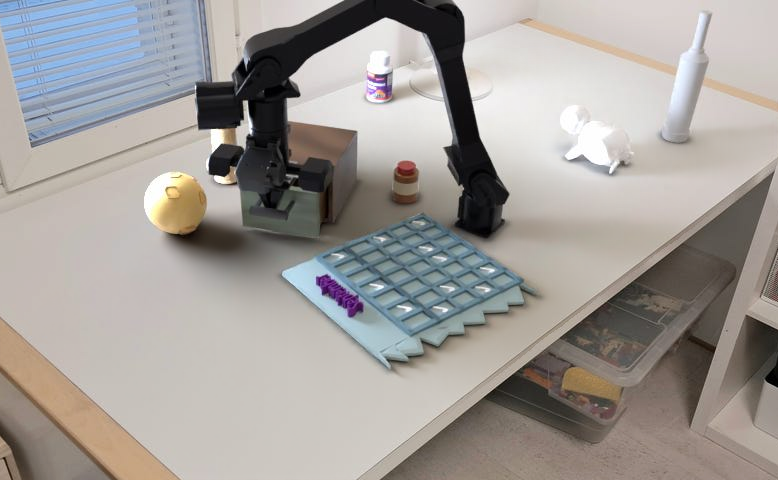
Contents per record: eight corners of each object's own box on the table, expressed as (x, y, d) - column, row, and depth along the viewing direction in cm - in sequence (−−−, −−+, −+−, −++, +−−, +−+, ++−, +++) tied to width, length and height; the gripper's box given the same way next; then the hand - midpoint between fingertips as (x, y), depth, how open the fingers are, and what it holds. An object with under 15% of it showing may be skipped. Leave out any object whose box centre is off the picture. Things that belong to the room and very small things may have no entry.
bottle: (691, 143, 172) (725, 17, 157) (664, 142, 172) (696, 16, 157) (683, 131, 176) (716, 7, 161) (658, 131, 176) (688, 7, 161)
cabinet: (333, 223, 146) (332, 170, 140) (253, 210, 149) (250, 157, 143) (356, 181, 157) (357, 130, 151) (282, 170, 160) (280, 119, 154)
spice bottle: (422, 196, 154) (424, 163, 150) (408, 206, 151) (410, 173, 147) (401, 188, 156) (402, 156, 152) (387, 198, 153) (388, 166, 149)
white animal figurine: (622, 172, 168) (567, 122, 173) (645, 141, 162) (587, 89, 166) (597, 188, 163) (541, 135, 168) (620, 156, 157) (561, 102, 161)
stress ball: (155, 250, 139) (146, 195, 133) (143, 219, 146) (135, 166, 140) (216, 238, 142) (211, 184, 136) (202, 208, 149) (196, 156, 143)
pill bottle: (362, 100, 185) (363, 56, 179) (372, 90, 189) (373, 47, 183) (386, 105, 183) (387, 60, 177) (395, 95, 187) (397, 51, 181)
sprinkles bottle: (217, 186, 155) (210, 116, 147) (212, 174, 158) (206, 105, 150) (242, 183, 156) (237, 113, 148) (237, 171, 160) (232, 102, 151)
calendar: (538, 298, 131) (541, 285, 130) (391, 371, 117) (392, 358, 116) (422, 219, 148) (423, 207, 146) (282, 275, 134) (281, 263, 133)
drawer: (307, 255, 137) (306, 210, 132) (231, 242, 140) (227, 197, 134) (341, 197, 151) (341, 154, 146) (271, 186, 154) (269, 143, 149)
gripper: (185, 139, 124) (196, 232, 133) (311, 158, 120) (312, 253, 129) (217, 106, 132) (225, 196, 142) (335, 124, 128) (335, 215, 138)
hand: (272, 215), depth 137 cm, fingers closed, pressing on drawer
